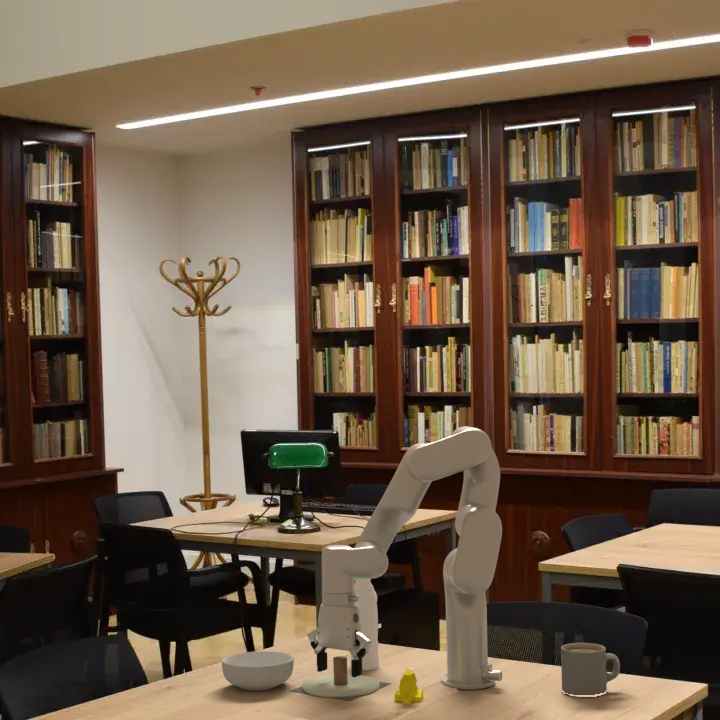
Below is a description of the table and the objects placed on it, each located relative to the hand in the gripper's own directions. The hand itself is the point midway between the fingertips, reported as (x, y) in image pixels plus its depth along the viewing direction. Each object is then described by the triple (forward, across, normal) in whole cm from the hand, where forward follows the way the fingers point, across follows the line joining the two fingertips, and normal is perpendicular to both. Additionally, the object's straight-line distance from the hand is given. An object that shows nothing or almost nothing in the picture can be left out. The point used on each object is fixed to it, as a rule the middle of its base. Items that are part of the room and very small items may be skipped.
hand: (339, 673), depth 273 cm
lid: (+3, 0, 0) cm, 3 cm away
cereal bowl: (+4, +18, +8) cm, 20 cm away
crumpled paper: (+4, -19, 0) cm, 20 cm away
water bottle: (+4, +6, -19) cm, 20 cm away
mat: (+4, 0, 0) cm, 4 cm away
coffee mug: (+3, -51, -26) cm, 58 cm away
